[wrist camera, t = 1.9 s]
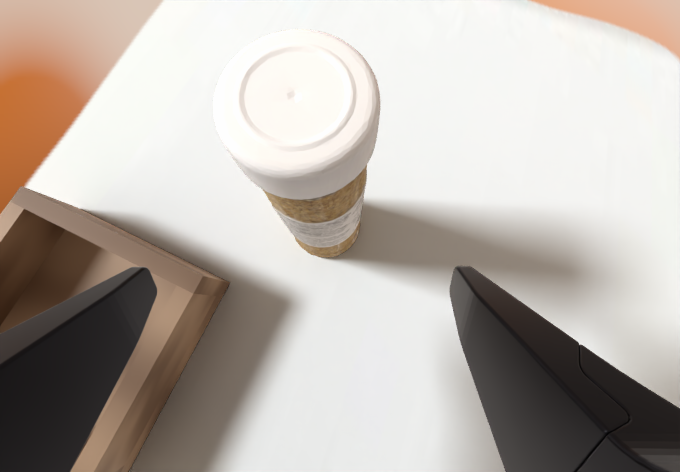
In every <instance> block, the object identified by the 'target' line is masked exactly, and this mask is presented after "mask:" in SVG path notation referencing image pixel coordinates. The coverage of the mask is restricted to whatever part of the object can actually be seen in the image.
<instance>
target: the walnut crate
mask: <svg viewBox="0 0 680 472" xmlns="http://www.w3.org/2000/svg"><path fill="white" fill-rule="evenodd" d="M131 267H147V268H148V269H149V270H150V272H151V275H152V277H153V280H154V282H155V284H156V287H157V296H156V299H155V301H154V304H153V306H152V309H151V311H150V314H149V317H148V319H147V322H146V324H145V327H144V329H143V332H142V334H141V336H140V339H139V341H138V343H137V345H136V347H135V349H134V351H133V353H132V355H131V357H130V359H129V361H128V363H127V365H126V366H125V368H124V370H123V372H122V374H121V376H120V378H119V380H118V382H117V384H116V386H115V387H114V389H113V391H112V393H111V395H110V397H109V399H108V401H107V403H106V405H105V407H104V408H103V410H102V412H101V414H100V416H99V418H98V420H97V422H96V424H95V426H94V428H93V429H92V431H91V433H90V435H89V437H88V439H87V441H86V443H85V445H84V447H83V449H82V450H81V452H80V454H79V456H78V458H77V460H76V462H75V464H74V466H73V468H72V470H71V471H70V472H129V470H130V468H131V466H132V464H133V462H134V461H135V459H136V457H137V455H138V453H139V451H140V449H141V448H142V446H143V444H144V442H145V440H146V438H147V436H148V435H149V433H150V431H151V429H152V427H153V425H154V423H155V422H156V420H157V418H158V416H159V414H160V412H161V410H162V409H163V407H164V405H165V403H166V401H167V399H168V397H169V395H170V394H171V392H172V390H173V388H174V386H175V384H176V382H177V381H178V379H179V377H180V375H181V373H182V371H183V369H184V368H185V366H186V364H187V362H188V360H189V358H190V356H191V355H192V353H193V351H194V349H195V347H196V345H197V343H198V342H199V340H200V338H201V336H202V334H203V332H204V330H205V328H206V327H207V325H208V323H209V321H210V319H211V317H212V315H213V314H214V312H215V310H216V308H217V306H218V304H219V302H220V301H221V299H222V297H223V295H224V293H225V291H226V289H227V288H228V286H229V284H230V282H228V281H226V280H224V279H222V278H220V277H218V276H216V275H214V274H212V273H210V272H208V271H206V270H204V269H202V268H200V267H198V266H195V265H193V264H191V263H189V262H187V261H185V260H183V259H181V258H179V257H177V256H175V255H173V254H171V253H169V252H167V251H165V250H163V249H161V248H159V247H157V246H155V245H153V244H151V243H149V242H147V241H144V240H142V239H140V238H138V237H136V236H134V235H132V234H130V233H128V232H126V231H124V230H122V229H120V228H118V227H116V226H114V225H112V224H110V223H108V222H106V221H104V220H102V219H100V218H98V217H96V216H93V215H91V214H89V213H87V212H85V211H83V210H81V209H79V208H77V207H74V206H72V205H69V204H66V203H64V202H61V201H58V200H56V199H53V198H51V197H48V196H45V195H43V194H40V193H38V192H35V191H32V190H30V189H27V188H24V187H22V186H21V187H20V188H19V190H18V191H17V192H16V194H15V195H14V196H13V198H12V199H11V201H10V202H9V203H8V205H7V206H6V208H5V209H4V210H3V212H2V213H1V214H0V334H1V333H3V332H5V331H7V330H9V329H11V328H13V327H15V326H17V325H18V324H20V323H22V322H24V321H26V320H28V319H30V318H32V317H34V316H36V315H38V314H40V313H42V312H44V311H46V310H48V309H50V308H52V307H54V306H56V305H58V304H60V303H62V302H64V301H66V300H68V299H70V298H71V297H73V296H75V295H77V294H79V293H81V292H83V291H85V290H87V289H89V288H91V287H93V286H95V285H97V284H99V283H101V282H103V281H105V280H107V279H109V278H111V277H113V276H115V275H117V274H119V273H121V272H123V271H124V270H126V269H128V268H131Z"/></svg>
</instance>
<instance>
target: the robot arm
mask: <svg viewBox="0 0 680 472" xmlns="http://www.w3.org/2000/svg"><path fill="white" fill-rule="evenodd" d="M156 296H157V287H156V284H155V282H154V280H153V277H152V275H151V272H150V270H149V269H148V268H147V267H131V268H128V269H126V270H124V271H123V272H121V273H119V274H117V275H115V276H113V277H111V278H109V279H107V280H105V281H103V282H101V283H99V284H97V285H95V286H93V287H91V288H89V289H87V290H85V291H83V292H81V293H79V294H77V295H75V296H73V297H71V298H70V299H68V300H66V301H64V302H62V303H60V304H58V305H56V306H54V307H52V308H50V309H48V310H46V311H44V312H42V313H40V314H38V315H36V316H34V317H32V318H30V319H28V320H26V321H24V322H22V323H20V324H18V325H17V326H15V327H13V328H11V329H9V330H7V331H5V332H3V333H1V334H0V472H70V471H71V470H72V468H73V466H74V464H75V462H76V460H77V458H78V456H79V454H80V452H81V450H82V449H83V447H84V445H85V443H86V441H87V439H88V437H89V435H90V433H91V431H92V429H93V428H94V426H95V424H96V422H97V420H98V418H99V416H100V414H101V412H102V410H103V408H104V407H105V405H106V403H107V401H108V399H109V397H110V395H111V393H112V391H113V389H114V387H115V386H116V384H117V382H118V380H119V378H120V376H121V374H122V372H123V370H124V368H125V366H126V365H127V363H128V361H129V359H130V357H131V355H132V353H133V351H134V349H135V347H136V345H137V343H138V341H139V339H140V336H141V334H142V332H143V329H144V327H145V324H146V322H147V319H148V317H149V314H150V311H151V309H152V306H153V304H154V301H155V299H156ZM450 298H451V302H452V307H453V311H454V316H455V320H456V325H457V329H458V334H459V338H460V342H461V345H462V348H463V351H464V354H465V357H466V360H467V363H468V366H469V368H470V371H471V374H472V377H473V380H474V383H475V386H476V388H477V391H478V394H479V397H480V400H481V403H482V405H483V408H484V411H485V414H486V417H487V420H488V423H489V425H490V428H491V431H492V434H493V437H494V440H495V442H496V445H497V448H498V451H499V454H500V457H501V460H502V462H503V465H504V468H505V471H506V472H680V408H678V407H677V406H675V405H673V404H672V403H670V402H668V401H667V400H665V399H664V398H662V397H660V396H659V395H657V394H656V393H654V392H652V391H651V390H649V389H647V388H646V387H644V386H643V385H641V384H640V383H638V382H636V381H635V380H633V379H632V378H630V377H629V376H627V375H626V374H624V373H622V372H621V371H619V370H618V369H616V368H615V367H613V366H612V365H610V364H609V363H608V362H606V361H605V360H603V359H602V358H600V357H599V356H597V355H596V354H594V353H593V352H592V351H590V350H589V349H587V348H586V347H584V346H583V345H579V343H578V342H577V341H576V340H574V339H573V338H572V337H570V336H569V335H567V334H566V333H564V332H563V331H562V330H560V329H559V328H557V327H556V326H554V325H553V324H552V323H550V322H549V321H547V320H546V319H545V318H543V317H542V316H540V315H539V314H537V313H536V312H535V311H533V310H532V309H530V308H529V307H527V306H526V305H525V304H523V303H522V302H520V301H519V300H518V299H516V298H515V297H513V296H512V295H510V294H509V293H508V292H506V291H505V290H503V289H502V288H500V287H499V286H498V285H496V284H495V283H493V282H492V281H491V280H489V279H488V278H486V277H485V276H483V275H482V274H481V273H479V272H478V271H476V270H475V269H474V268H472V267H470V266H457V267H455V269H454V271H453V276H452V280H451V285H450Z"/></svg>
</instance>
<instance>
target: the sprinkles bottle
mask: <svg viewBox="0 0 680 472" xmlns="http://www.w3.org/2000/svg"><path fill="white" fill-rule="evenodd" d="M213 115H214V121H215V125H216V128H217V131H218V134H219V136H220V139H221V141H222V142H223V144H224V146H225V148H226V149H227V151H228V152H229V153H230V155H231V156H232V158H233V159H234V161H235V162H236V163H237V165H238V166H239V167H240V169H241V170H242V171H243V173H244V174H245V175H246V176H247V177H248V178H249V179H250V180H251V181H252V182H253V183H254V184H255V185H257V186H258V187H260V188H261V189H263V191H264V192H265V194H266V195H267V197H268V199H269V200H270V202H271V203H272V206H273V208H274V209H275V211H276V212H277V214H278V215H279V217H280V218H281V220H282V221H283V222H284V224H285V225H286V226H287V228H288V229H289V230H290V232H291V233H292V234H293V235H294V237H295V239H296V241H297V242H298V244H299V245H300V246H301V247H302V248H303V249H304V250H306V251H307V252H308V253H310V254H311V255H316V256H318V257H333V256H338V255H339V254H341V253H343V252H345V251H346V250H348V249H349V248H350V247H351V246H352V245H353V243H354V242H355V240H356V239H357V236H358V233H359V228H360V217H361V212H362V205H363V198H364V192H365V185H366V179H367V170H366V168H367V163H368V161H369V160H370V158H371V156H372V153H373V150H374V147H375V143H376V138H377V132H378V125H379V115H380V94H379V88H378V84H377V80H376V78H375V75H374V73H373V71H372V69H371V68H370V66H369V64H368V63H367V61H366V60H365V59H364V58H363V56H362V55H361V54H360V53H359V52H358V51H357V50H355V49H354V48H353V47H352V46H350V45H349V44H348V43H346V42H345V41H343V40H341V39H339V38H337V37H335V36H332V35H330V34H327V33H324V32H320V31H314V30H304V29H292V30H284V31H279V32H276V33H272V34H269V35H266V36H264V37H262V38H260V39H258V40H256V41H254V42H252V43H251V44H249V45H247V46H246V47H245V48H244V49H242V50H241V51H240V52H238V54H237V55H236V56H235V57H234V58H233V59H232V60H231V61H230V62H229V63H228V65H227V66H226V67H225V69H224V71H223V73H222V75H221V77H220V79H219V81H218V84H217V87H216V90H215V95H214V101H213Z"/></svg>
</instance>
